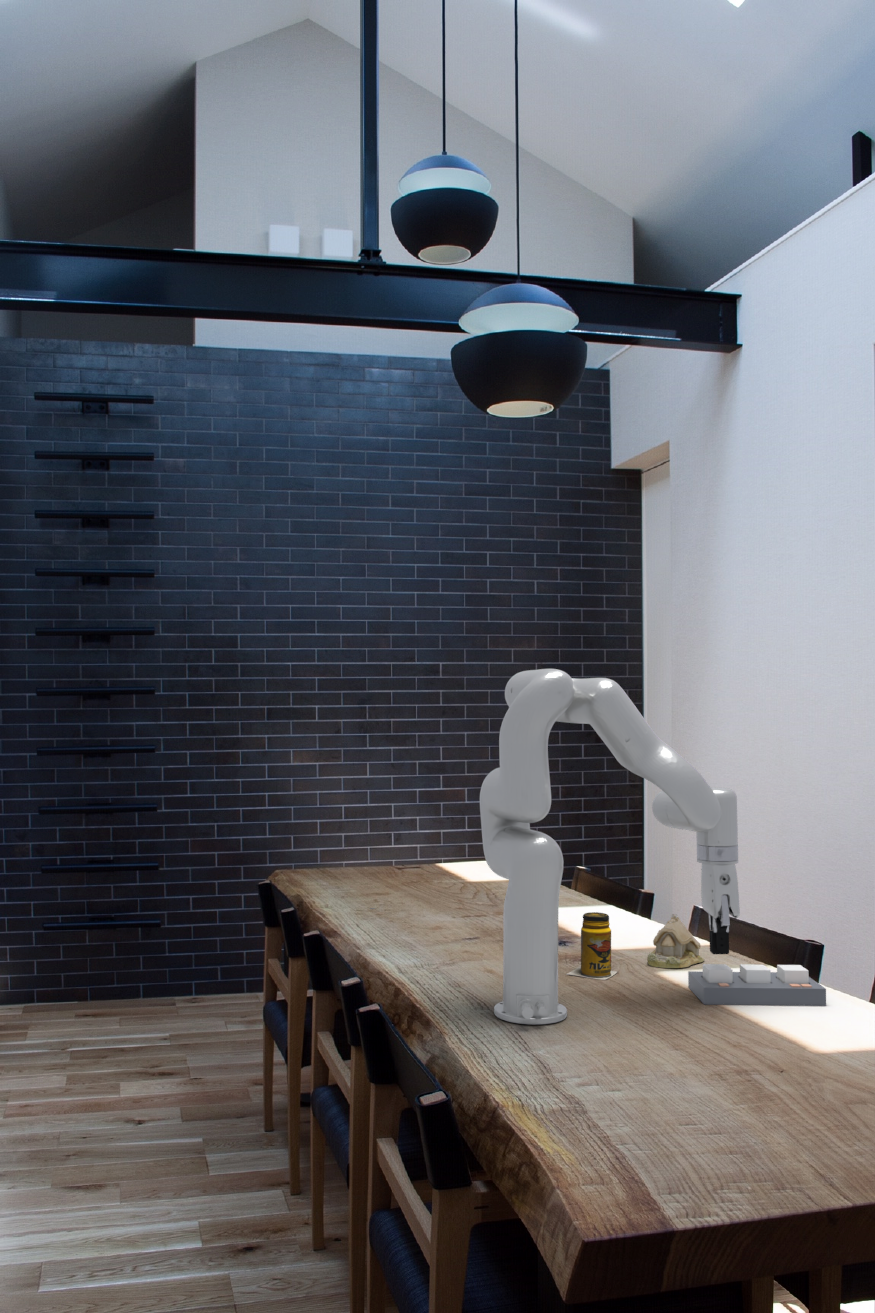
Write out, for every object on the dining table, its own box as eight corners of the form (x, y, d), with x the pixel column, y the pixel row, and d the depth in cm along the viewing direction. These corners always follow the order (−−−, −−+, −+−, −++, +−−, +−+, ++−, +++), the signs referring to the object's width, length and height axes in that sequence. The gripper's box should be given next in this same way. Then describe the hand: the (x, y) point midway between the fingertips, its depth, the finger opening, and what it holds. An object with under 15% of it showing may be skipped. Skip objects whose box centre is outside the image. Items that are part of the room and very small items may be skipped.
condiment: (605, 980, 207) (605, 918, 207) (565, 975, 211) (565, 914, 212) (618, 973, 213) (618, 913, 214) (579, 967, 217) (579, 908, 218)
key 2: (770, 989, 194) (770, 970, 194) (746, 989, 194) (746, 970, 194) (763, 983, 198) (763, 964, 199) (739, 983, 198) (739, 964, 199)
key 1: (808, 990, 194) (808, 970, 194) (784, 989, 194) (784, 970, 194) (800, 984, 198) (800, 965, 199) (777, 983, 198) (776, 964, 199)
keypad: (826, 1005, 190) (825, 987, 190) (704, 1004, 190) (704, 986, 190) (803, 988, 202) (803, 971, 202) (688, 987, 202) (688, 970, 202)
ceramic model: (657, 953, 232) (657, 907, 233) (708, 959, 227) (708, 912, 227) (638, 966, 220) (638, 917, 220) (692, 972, 214) (692, 923, 215)
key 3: (732, 989, 194) (732, 970, 194) (708, 989, 194) (708, 969, 194) (726, 983, 198) (726, 964, 199) (702, 983, 198) (702, 964, 199)
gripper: (749, 859, 190) (751, 963, 189) (726, 848, 205) (728, 944, 204) (707, 860, 190) (709, 963, 189) (688, 849, 205) (689, 944, 204)
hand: (719, 953), depth 197 cm, fingers closed
